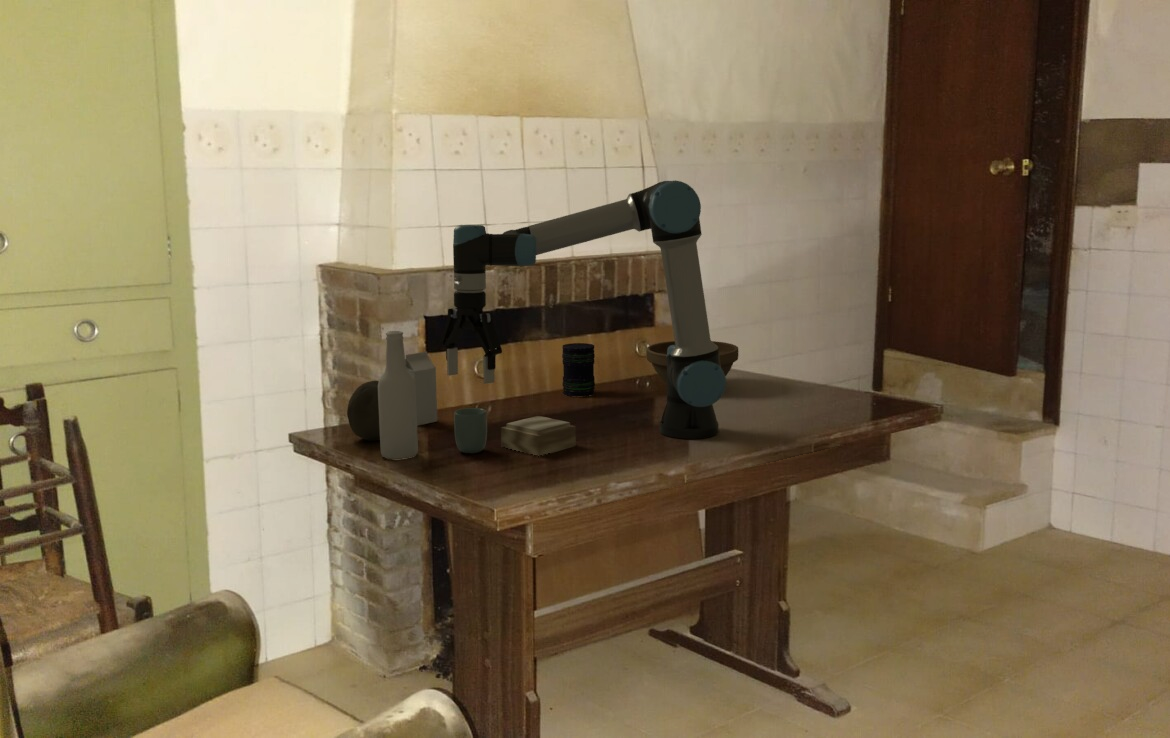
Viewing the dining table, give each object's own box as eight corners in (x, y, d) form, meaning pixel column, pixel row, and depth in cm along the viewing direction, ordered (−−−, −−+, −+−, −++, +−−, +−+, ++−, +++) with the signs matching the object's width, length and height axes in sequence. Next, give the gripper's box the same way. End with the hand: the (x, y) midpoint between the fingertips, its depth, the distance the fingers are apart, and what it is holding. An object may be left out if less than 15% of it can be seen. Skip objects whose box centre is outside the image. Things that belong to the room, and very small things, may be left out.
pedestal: (575, 446, 260) (575, 422, 258) (538, 456, 250) (538, 432, 249) (538, 437, 268) (538, 414, 267) (501, 447, 259) (500, 423, 258)
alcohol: (411, 461, 247) (406, 335, 241) (375, 460, 248) (369, 334, 243) (422, 451, 255) (418, 329, 250) (388, 450, 257) (383, 328, 251)
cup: (482, 456, 251) (481, 415, 249) (451, 455, 252) (449, 414, 250) (491, 448, 258) (490, 408, 256) (461, 446, 260) (459, 407, 258)
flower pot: (670, 401, 309) (670, 357, 306) (631, 383, 335) (631, 343, 333) (755, 393, 319) (756, 350, 317) (710, 377, 345) (711, 337, 343)
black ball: (371, 449, 258) (369, 389, 255) (337, 440, 267) (334, 382, 264) (416, 438, 268) (414, 381, 265) (382, 430, 277) (380, 374, 274)
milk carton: (437, 421, 286) (435, 352, 282) (416, 426, 281) (414, 356, 277) (421, 417, 291) (418, 350, 287) (400, 422, 286) (397, 353, 282)
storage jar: (594, 397, 315) (594, 348, 312) (562, 397, 315) (561, 348, 312) (595, 390, 325) (594, 343, 322) (563, 390, 325) (562, 343, 322)
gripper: (424, 287, 255) (426, 373, 259) (492, 296, 238) (492, 388, 242) (449, 285, 260) (450, 369, 264) (517, 294, 243) (516, 384, 247)
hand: (470, 378), depth 253 cm, fingers open, 13 cm apart
